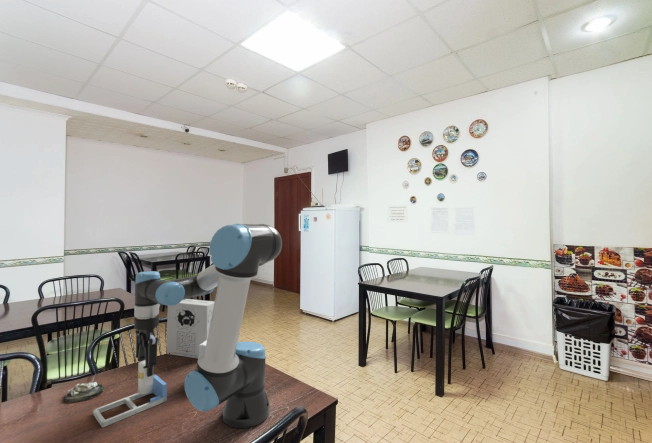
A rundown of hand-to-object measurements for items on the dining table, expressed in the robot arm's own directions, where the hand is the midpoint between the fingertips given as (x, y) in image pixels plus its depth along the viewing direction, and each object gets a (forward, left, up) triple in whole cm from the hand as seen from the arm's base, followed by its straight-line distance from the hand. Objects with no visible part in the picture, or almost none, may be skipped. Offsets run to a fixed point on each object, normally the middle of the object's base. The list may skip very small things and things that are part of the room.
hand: (145, 381), depth 109 cm
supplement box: (-3, -25, -7) cm, 26 cm away
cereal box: (+26, -30, -7) cm, 40 cm away
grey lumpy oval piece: (+21, +12, -8) cm, 26 cm away
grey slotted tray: (0, +4, -7) cm, 8 cm away
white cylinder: (0, 0, -3) cm, 3 cm away
